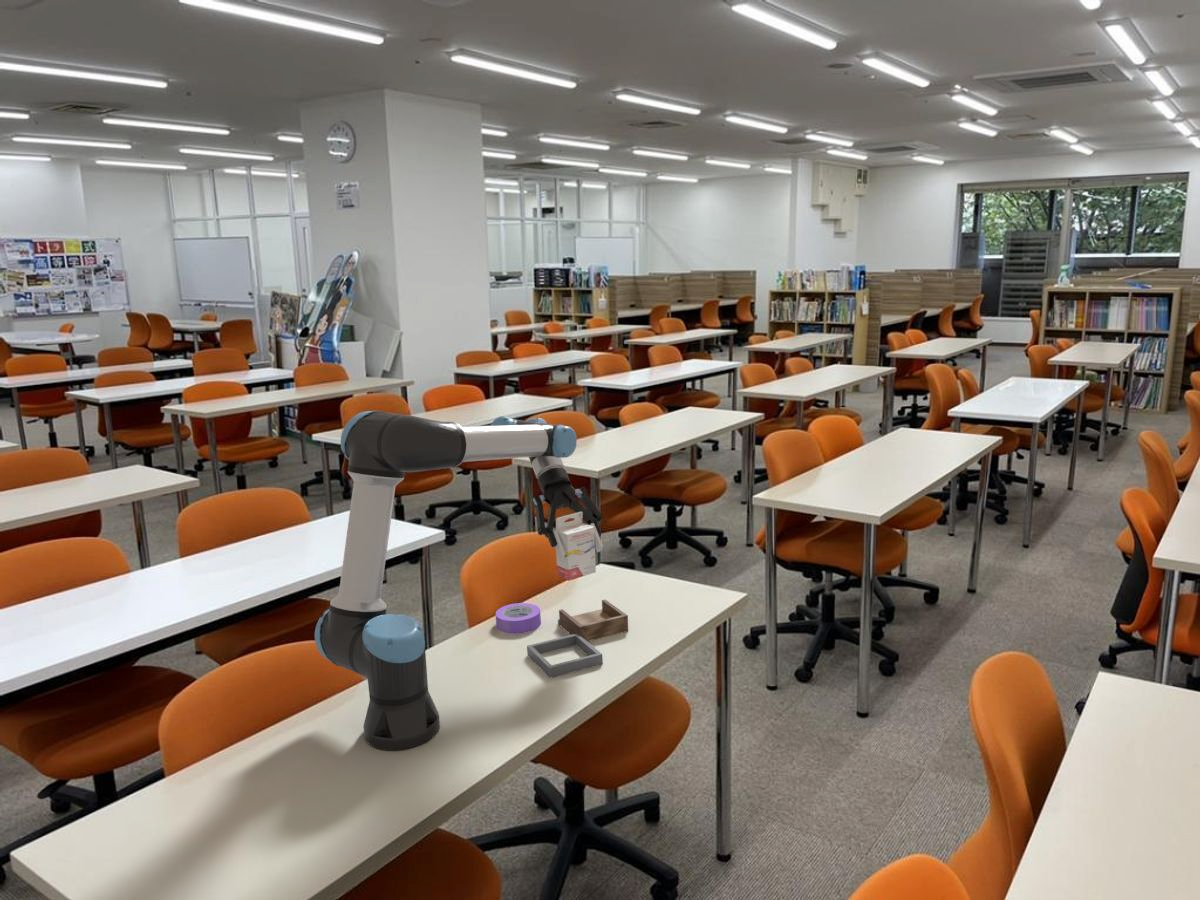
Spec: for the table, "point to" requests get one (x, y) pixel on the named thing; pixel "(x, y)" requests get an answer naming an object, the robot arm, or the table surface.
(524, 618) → the masking tape
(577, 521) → the ink cartridge box
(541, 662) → the socket
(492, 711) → the table surface
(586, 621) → the wooden tray
